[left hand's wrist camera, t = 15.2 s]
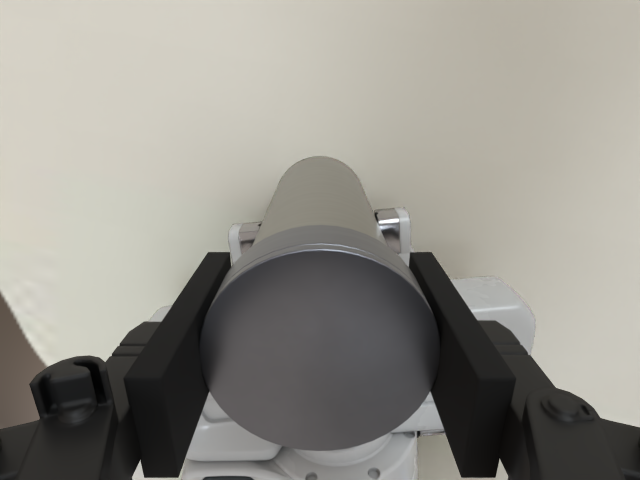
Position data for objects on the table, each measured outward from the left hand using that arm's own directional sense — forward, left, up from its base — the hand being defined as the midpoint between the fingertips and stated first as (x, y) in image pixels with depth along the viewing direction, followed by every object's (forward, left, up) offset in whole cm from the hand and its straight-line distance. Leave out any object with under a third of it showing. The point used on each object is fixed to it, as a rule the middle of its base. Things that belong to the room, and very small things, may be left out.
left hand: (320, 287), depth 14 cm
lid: (0, 0, +4) cm, 4 cm away
